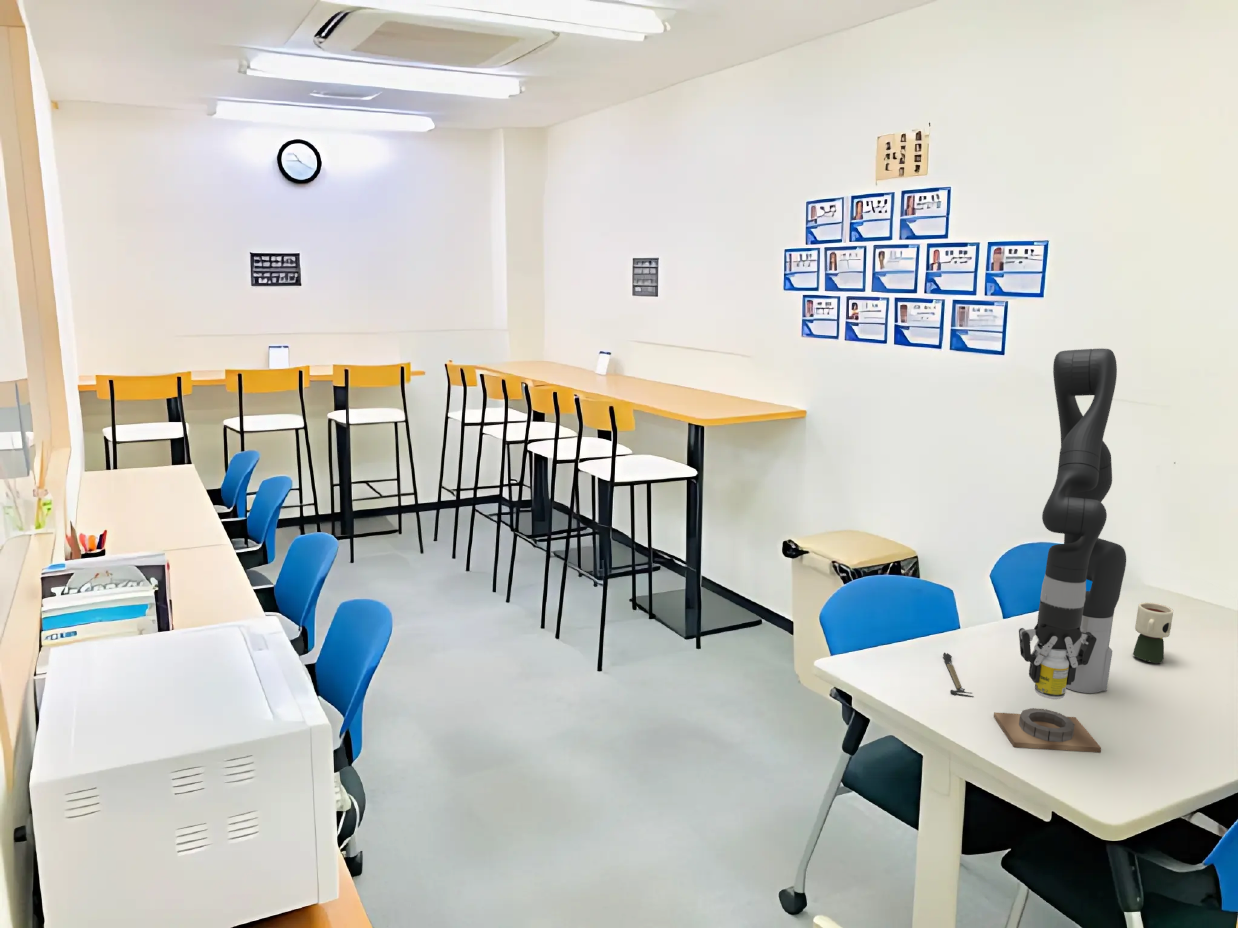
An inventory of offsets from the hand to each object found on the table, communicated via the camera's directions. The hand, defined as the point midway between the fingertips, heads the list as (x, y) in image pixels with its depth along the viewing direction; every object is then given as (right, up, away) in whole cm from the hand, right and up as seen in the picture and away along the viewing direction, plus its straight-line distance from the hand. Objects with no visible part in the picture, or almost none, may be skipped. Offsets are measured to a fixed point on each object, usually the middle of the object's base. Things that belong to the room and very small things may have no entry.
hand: (1050, 681), depth 178 cm
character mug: (+41, -4, +39) cm, 56 cm away
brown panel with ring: (0, -11, +2) cm, 11 cm away
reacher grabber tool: (-8, -6, +27) cm, 29 cm away
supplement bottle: (0, -3, +1) cm, 3 cm away
